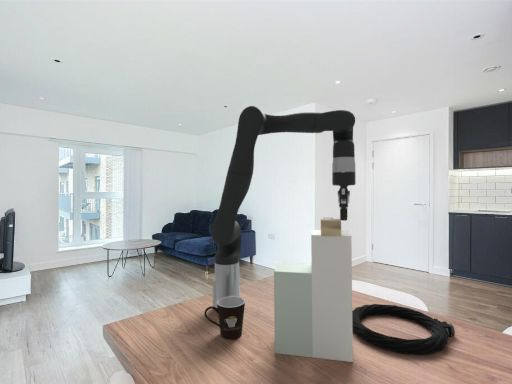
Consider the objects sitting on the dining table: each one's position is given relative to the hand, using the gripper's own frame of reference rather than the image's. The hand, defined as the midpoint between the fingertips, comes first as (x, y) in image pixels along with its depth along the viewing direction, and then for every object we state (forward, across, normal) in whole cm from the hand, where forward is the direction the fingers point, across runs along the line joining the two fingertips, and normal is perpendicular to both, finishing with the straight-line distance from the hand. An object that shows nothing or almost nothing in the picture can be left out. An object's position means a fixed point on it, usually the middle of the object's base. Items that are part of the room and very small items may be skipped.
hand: (343, 219), depth 94 cm
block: (+2, +15, -4) cm, 16 cm away
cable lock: (+34, +3, +16) cm, 38 cm away
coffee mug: (+34, +21, -34) cm, 53 cm away
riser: (+34, +20, -8) cm, 41 cm away
